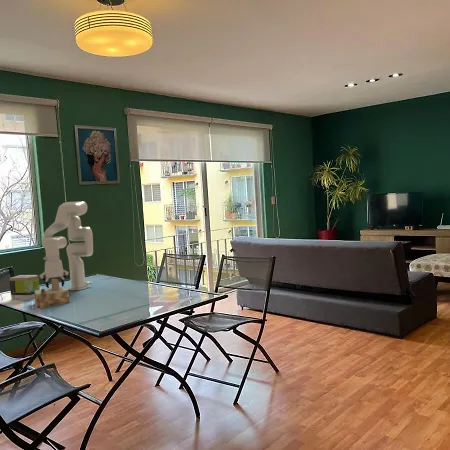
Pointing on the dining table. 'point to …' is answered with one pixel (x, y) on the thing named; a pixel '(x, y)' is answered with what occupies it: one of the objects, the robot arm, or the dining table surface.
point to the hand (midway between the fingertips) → (55, 286)
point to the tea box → (24, 287)
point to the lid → (53, 288)
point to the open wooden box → (51, 299)
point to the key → (43, 293)
